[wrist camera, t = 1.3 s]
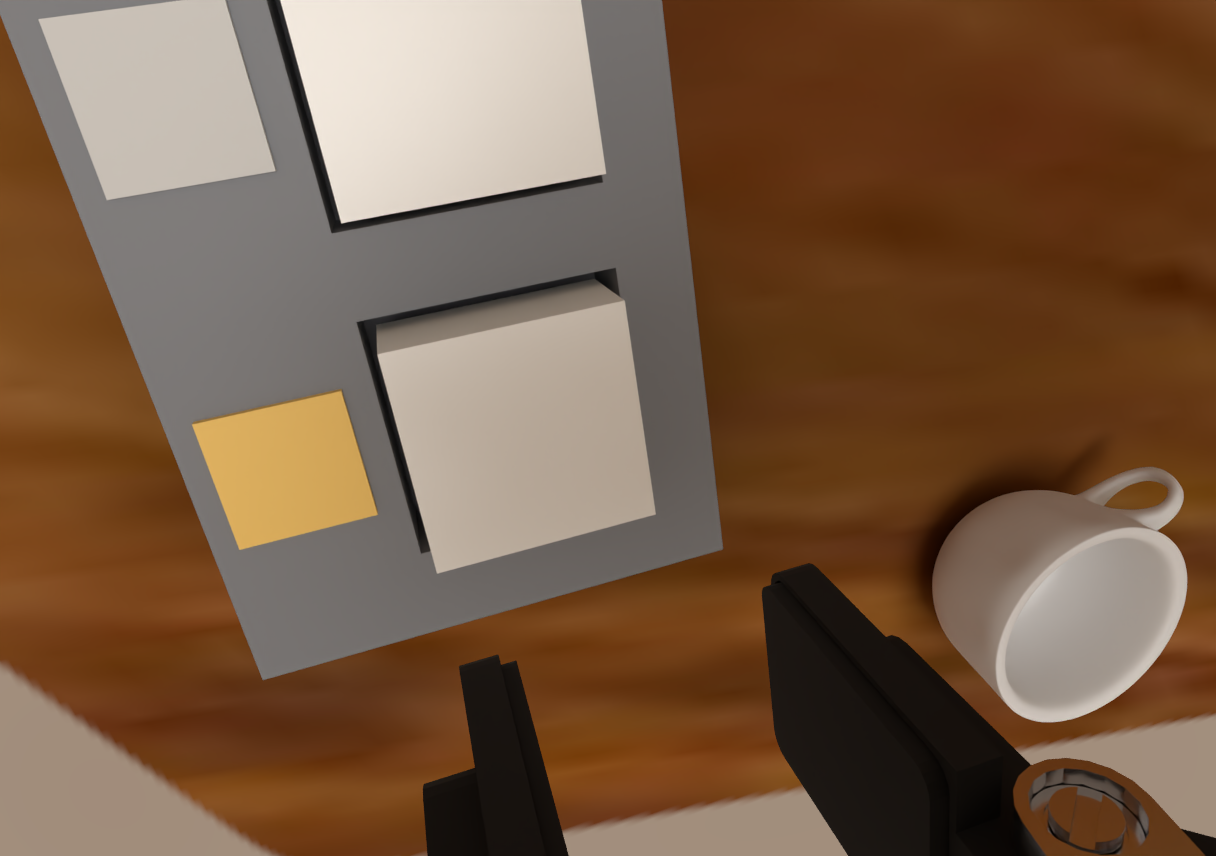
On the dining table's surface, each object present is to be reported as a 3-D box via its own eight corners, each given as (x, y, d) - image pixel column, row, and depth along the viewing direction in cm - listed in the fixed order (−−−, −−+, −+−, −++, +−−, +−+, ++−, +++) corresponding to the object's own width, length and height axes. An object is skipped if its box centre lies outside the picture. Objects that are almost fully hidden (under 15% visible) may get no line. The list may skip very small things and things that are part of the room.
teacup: (968, 666, 35) (1065, 755, 30) (865, 577, 32) (954, 660, 27) (1137, 492, 34) (1265, 555, 29) (1048, 383, 31) (1175, 433, 26)
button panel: (527, -764, 17) (559, -948, 14) (689, 508, 28) (725, 552, 26) (-256, -793, 14) (-416, -1025, 11) (274, 620, 26) (262, 684, 23)
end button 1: (594, 278, 23) (624, 300, 20) (625, 471, 25) (656, 514, 22) (376, 325, 22) (377, 354, 19) (429, 522, 24) (437, 573, 21)
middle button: (534, -98, 19) (561, -134, 17) (576, 167, 22) (606, 173, 19) (271, -66, 18) (253, -98, 15) (345, 209, 20) (341, 223, 18)
